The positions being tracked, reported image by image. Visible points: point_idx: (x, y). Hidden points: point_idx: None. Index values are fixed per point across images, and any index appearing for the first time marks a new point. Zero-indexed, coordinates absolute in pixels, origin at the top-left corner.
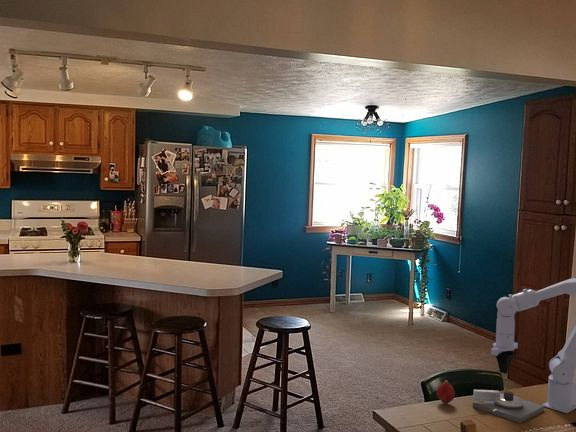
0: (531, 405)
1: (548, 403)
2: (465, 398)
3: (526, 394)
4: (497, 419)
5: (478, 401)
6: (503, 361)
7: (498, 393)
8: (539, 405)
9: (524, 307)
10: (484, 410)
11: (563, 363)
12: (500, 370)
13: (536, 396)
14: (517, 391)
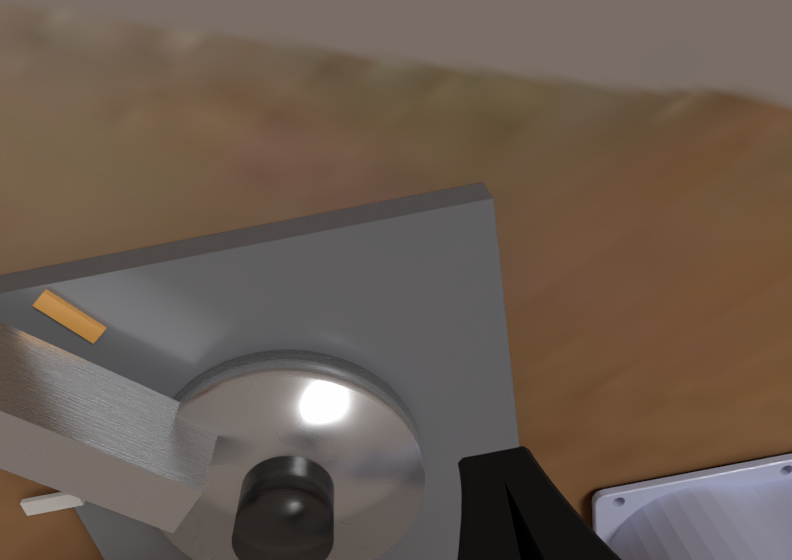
0: (451, 532)
1: (634, 525)
2: (61, 64)
3: (767, 279)
4: (34, 521)
5: (39, 310)
6: None
7: (159, 517)
8: None
9: None
10: None
11: None
12: (464, 489)
13: (783, 346)
14: (787, 187)
